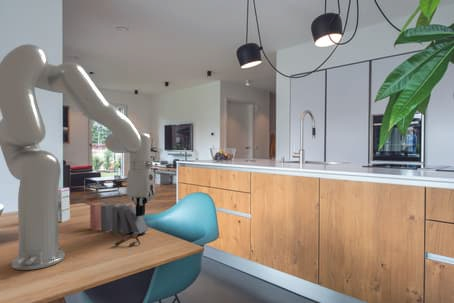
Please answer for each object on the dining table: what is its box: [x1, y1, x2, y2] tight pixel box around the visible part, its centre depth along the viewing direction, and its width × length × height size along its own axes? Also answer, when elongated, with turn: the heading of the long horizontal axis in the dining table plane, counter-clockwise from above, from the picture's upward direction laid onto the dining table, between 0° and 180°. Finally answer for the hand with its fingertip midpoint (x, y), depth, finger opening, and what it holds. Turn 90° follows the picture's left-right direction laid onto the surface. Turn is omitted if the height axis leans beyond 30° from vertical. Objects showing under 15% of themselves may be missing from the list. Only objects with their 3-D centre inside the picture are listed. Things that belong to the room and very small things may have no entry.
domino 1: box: [89, 202, 106, 231], centre depth 116 cm, size 2×5×10 cm, turn 158°
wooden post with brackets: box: [113, 232, 142, 248], centre depth 96 cm, size 2×8×4 cm, turn 104°
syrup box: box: [58, 187, 71, 223], centre depth 128 cm, size 6×6×14 cm
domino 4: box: [118, 204, 134, 235], centre depth 110 cm, size 2×5×10 cm, turn 158°
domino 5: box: [124, 206, 149, 237], centre depth 109 cm, size 2×5×10 cm
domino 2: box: [100, 202, 116, 233], centre depth 114 cm, size 2×5×10 cm, turn 158°
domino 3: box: [111, 203, 127, 234], centre depth 112 cm, size 2×5×10 cm, turn 158°
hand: (140, 215), depth 108 cm, fingers closed
